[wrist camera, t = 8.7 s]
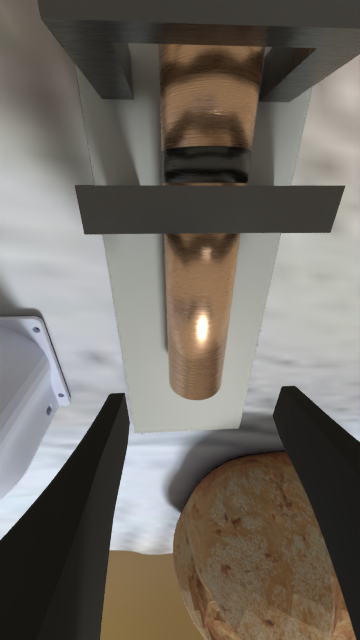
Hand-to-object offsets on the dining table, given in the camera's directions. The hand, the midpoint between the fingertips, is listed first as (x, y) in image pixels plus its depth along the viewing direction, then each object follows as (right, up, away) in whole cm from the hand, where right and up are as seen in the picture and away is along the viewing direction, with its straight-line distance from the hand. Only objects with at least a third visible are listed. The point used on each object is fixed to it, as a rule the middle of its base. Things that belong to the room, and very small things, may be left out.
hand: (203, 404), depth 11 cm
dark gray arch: (0, +11, +3) cm, 11 cm away
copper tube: (0, +8, +4) cm, 9 cm away
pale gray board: (0, +5, +7) cm, 8 cm away
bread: (+10, -22, +23) cm, 34 cm away
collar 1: (0, +15, 0) cm, 15 cm away
